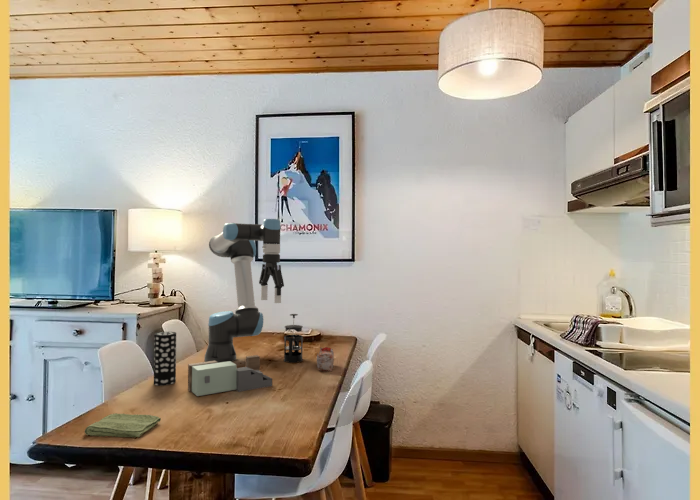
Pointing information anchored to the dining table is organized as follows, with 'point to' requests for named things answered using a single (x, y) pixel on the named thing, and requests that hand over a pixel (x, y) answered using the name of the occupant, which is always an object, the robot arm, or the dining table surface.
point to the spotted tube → (164, 358)
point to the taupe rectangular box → (251, 362)
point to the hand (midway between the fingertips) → (270, 301)
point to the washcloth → (122, 425)
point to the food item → (325, 359)
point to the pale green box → (214, 378)
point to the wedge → (251, 379)
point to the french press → (296, 355)
